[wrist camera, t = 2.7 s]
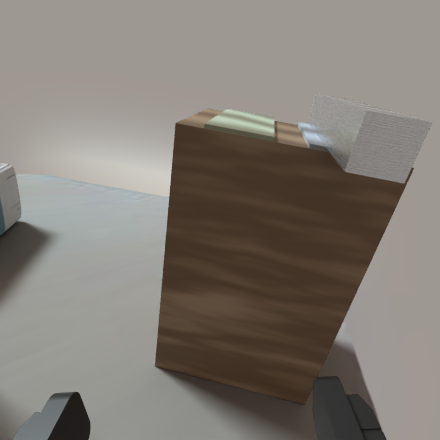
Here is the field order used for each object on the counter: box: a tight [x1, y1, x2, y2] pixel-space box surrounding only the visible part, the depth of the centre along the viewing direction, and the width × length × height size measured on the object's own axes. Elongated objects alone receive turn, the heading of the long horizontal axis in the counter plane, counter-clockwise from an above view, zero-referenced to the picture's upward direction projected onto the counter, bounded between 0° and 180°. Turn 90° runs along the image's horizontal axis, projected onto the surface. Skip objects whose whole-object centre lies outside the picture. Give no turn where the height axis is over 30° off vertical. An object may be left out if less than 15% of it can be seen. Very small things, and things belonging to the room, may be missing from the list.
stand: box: [155, 109, 414, 405], centre depth 38 cm, size 14×20×32 cm
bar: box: [308, 94, 432, 183], centre depth 27 cm, size 22×4×4 cm, turn 170°
